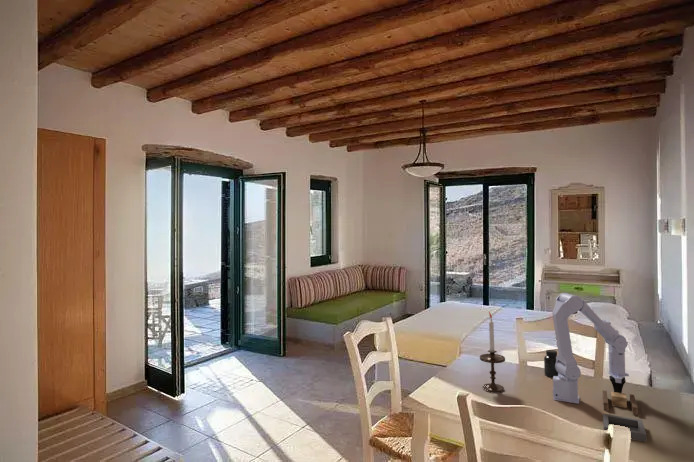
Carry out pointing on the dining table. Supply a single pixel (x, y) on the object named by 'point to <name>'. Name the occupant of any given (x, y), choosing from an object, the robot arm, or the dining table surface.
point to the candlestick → (492, 361)
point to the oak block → (619, 399)
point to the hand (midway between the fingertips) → (617, 394)
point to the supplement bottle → (550, 363)
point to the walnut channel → (632, 402)
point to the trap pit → (627, 425)
